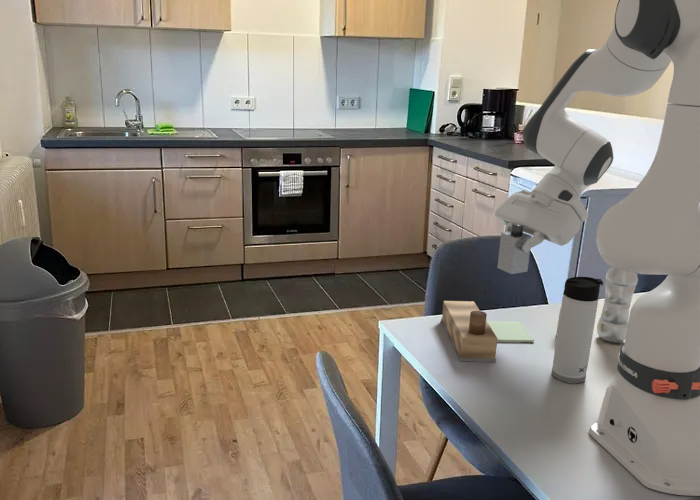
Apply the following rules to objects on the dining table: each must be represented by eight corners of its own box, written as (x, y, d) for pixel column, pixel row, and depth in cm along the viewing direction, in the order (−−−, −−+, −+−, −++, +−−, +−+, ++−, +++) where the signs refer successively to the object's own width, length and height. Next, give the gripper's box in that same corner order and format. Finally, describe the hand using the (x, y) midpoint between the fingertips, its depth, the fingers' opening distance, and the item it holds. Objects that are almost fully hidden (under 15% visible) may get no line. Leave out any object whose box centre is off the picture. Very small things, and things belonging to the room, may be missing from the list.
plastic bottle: (621, 334, 143) (636, 250, 137) (630, 347, 137) (646, 259, 131) (591, 332, 144) (605, 248, 138) (599, 345, 137) (614, 257, 132)
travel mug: (589, 386, 120) (606, 286, 114) (553, 381, 121) (567, 282, 115) (584, 371, 125) (600, 275, 120) (550, 366, 127) (563, 271, 121)
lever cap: (527, 271, 137) (533, 226, 134) (511, 274, 135) (516, 228, 132) (513, 265, 140) (518, 221, 138) (497, 267, 138) (502, 223, 135)
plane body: (495, 361, 128) (500, 320, 125) (460, 361, 127) (464, 319, 125) (471, 321, 147) (475, 284, 145) (441, 320, 147) (444, 283, 144)
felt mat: (533, 342, 137) (534, 340, 137) (488, 342, 137) (488, 339, 137) (519, 324, 147) (519, 321, 147) (477, 323, 146) (477, 320, 146)
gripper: (513, 179, 144) (474, 225, 143) (582, 198, 127) (540, 250, 126) (525, 197, 148) (488, 242, 146) (595, 218, 131) (553, 269, 129)
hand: (512, 246), depth 136 cm, fingers closed on lever cap, 4 cm apart
